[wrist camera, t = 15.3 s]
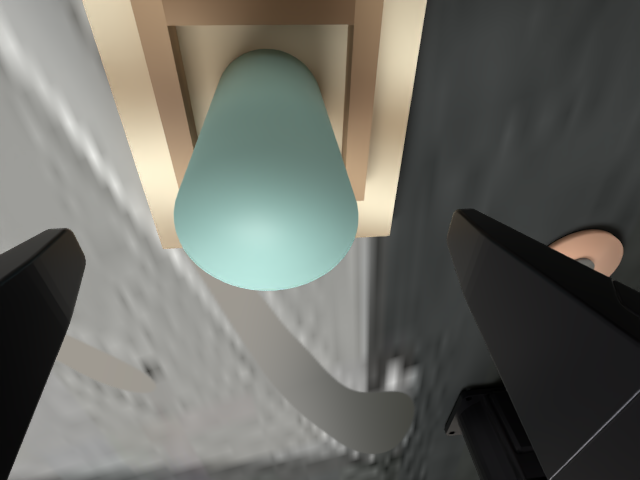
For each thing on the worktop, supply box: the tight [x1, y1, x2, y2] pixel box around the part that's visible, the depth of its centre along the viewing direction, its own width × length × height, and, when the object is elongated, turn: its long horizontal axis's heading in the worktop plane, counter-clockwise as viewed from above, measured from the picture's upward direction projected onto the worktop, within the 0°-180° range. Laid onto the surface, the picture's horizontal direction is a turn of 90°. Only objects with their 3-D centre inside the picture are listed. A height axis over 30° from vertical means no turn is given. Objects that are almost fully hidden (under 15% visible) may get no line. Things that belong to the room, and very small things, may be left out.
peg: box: [174, 49, 358, 291], centre depth 10 cm, size 4×4×7 cm
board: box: [82, 0, 427, 249], centre depth 13 cm, size 12×10×2 cm
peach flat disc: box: [548, 229, 623, 277], centre depth 21 cm, size 5×5×1 cm
